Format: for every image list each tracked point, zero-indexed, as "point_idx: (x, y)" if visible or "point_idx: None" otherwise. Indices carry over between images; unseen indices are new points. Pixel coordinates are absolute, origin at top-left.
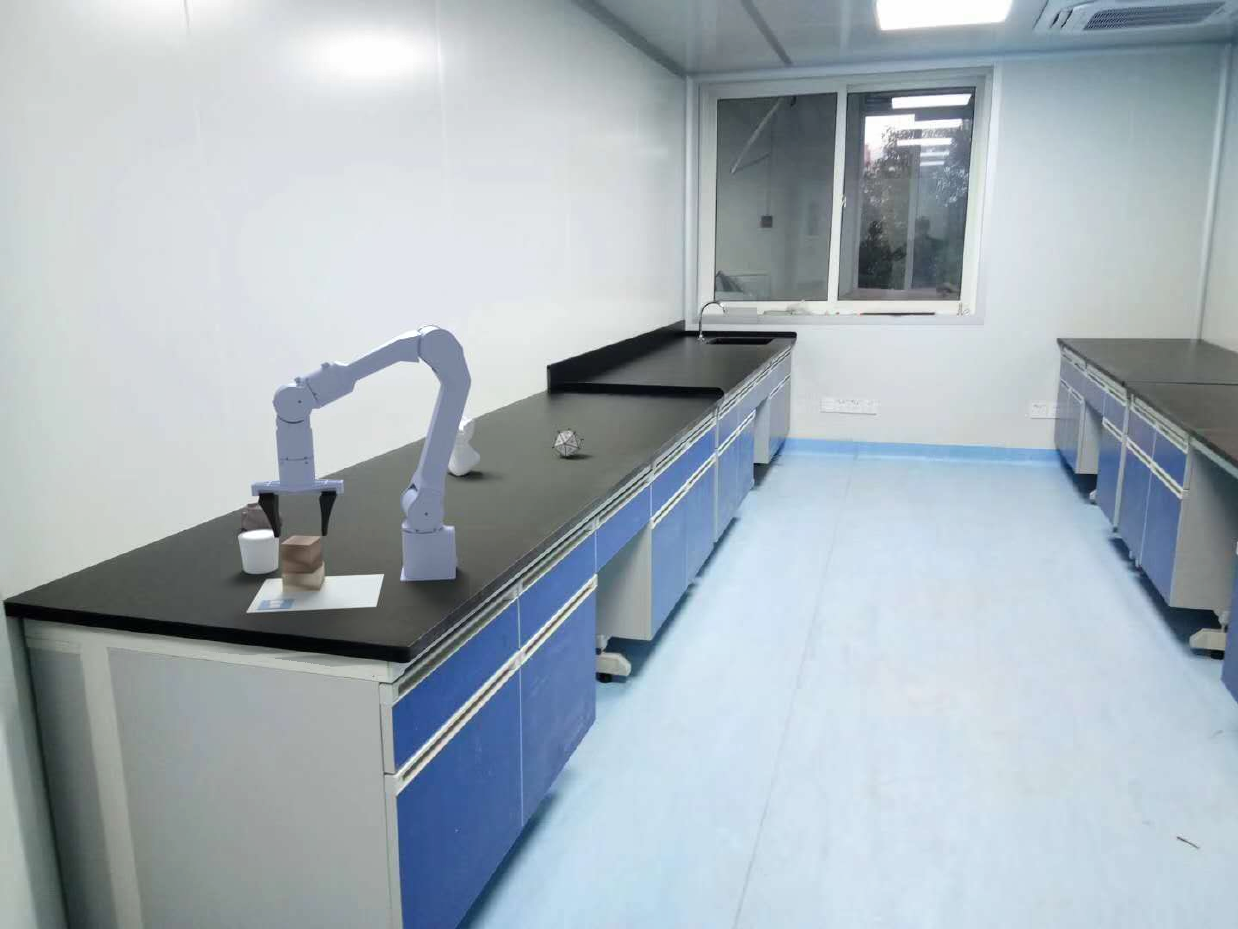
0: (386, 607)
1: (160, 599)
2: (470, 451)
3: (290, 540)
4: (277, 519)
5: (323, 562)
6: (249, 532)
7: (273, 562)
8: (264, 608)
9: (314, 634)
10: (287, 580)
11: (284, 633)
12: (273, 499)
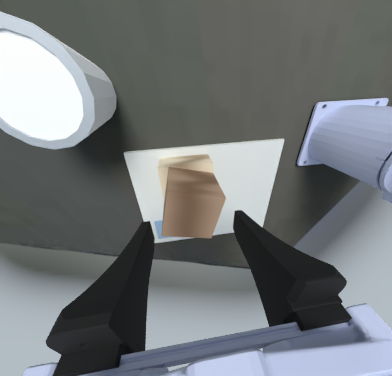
0: (269, 221)
1: (18, 209)
2: None
3: (172, 219)
4: (145, 262)
5: (212, 164)
6: None
7: (110, 113)
8: (164, 237)
9: (215, 262)
10: None
11: (194, 262)
12: (136, 347)
